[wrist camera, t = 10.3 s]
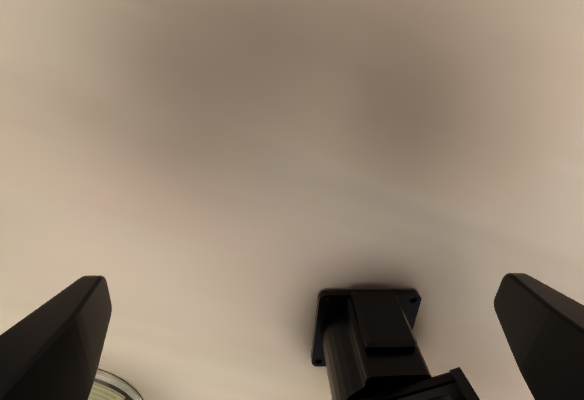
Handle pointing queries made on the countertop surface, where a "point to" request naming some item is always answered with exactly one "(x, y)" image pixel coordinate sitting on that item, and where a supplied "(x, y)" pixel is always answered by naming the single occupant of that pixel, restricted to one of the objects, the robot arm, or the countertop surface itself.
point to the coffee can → (111, 388)
